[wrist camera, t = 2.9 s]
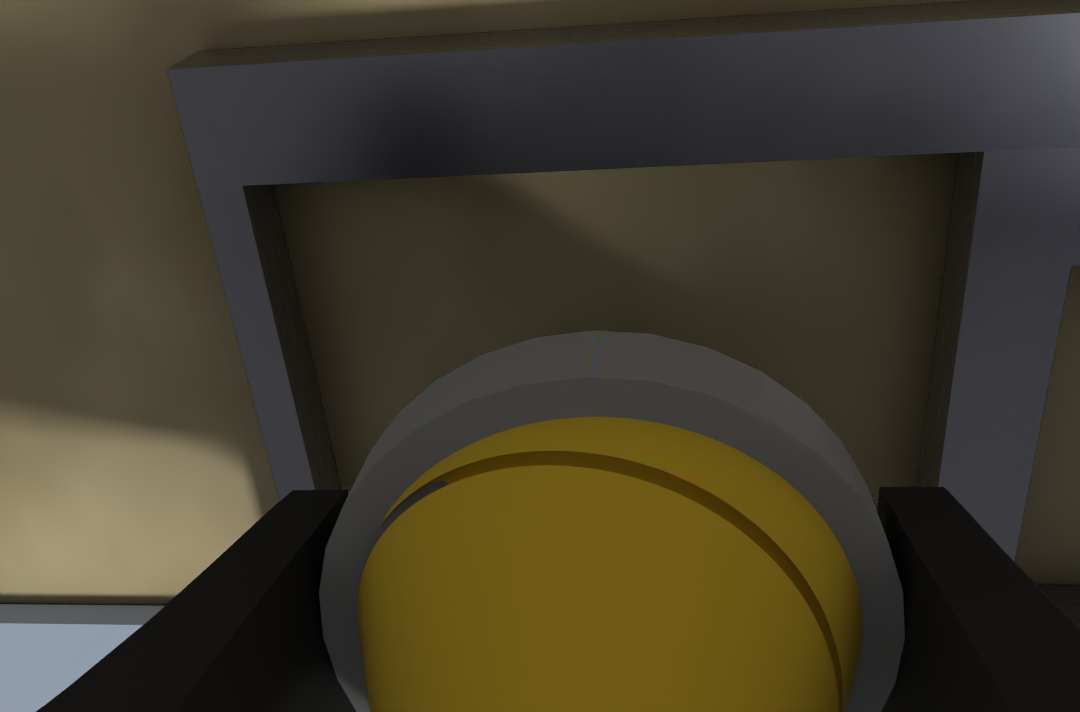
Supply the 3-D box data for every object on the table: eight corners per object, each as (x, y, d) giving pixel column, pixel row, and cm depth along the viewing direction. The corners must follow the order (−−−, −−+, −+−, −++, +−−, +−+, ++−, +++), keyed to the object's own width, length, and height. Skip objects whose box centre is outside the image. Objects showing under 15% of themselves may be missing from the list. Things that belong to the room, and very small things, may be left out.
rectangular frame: (1678, -45, 9) (1763, -30, 8) (1338, 724, 14) (1374, 773, 13) (198, 51, 11) (165, 69, 10) (357, 703, 16) (343, 745, 15)
